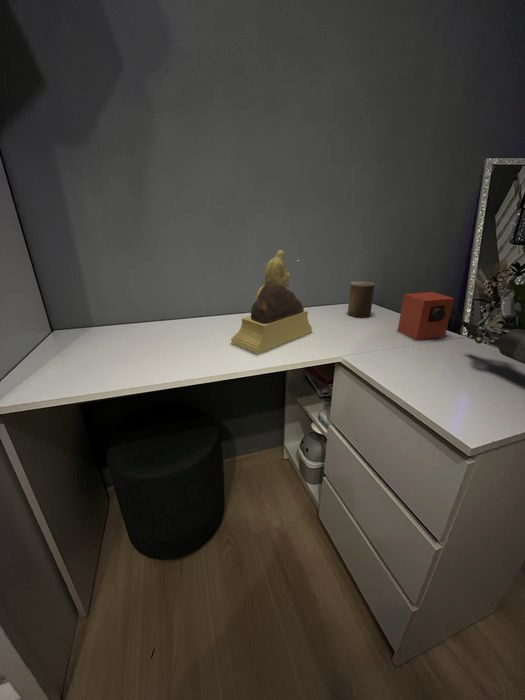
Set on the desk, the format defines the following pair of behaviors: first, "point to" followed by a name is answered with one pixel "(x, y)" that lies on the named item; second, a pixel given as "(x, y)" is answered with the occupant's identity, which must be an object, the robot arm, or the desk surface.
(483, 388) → the desk surface
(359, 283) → the pillar candle
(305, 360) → the desk surface
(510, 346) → the robot arm
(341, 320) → the desk surface
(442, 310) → the button
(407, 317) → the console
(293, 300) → the yellow and brown statue
